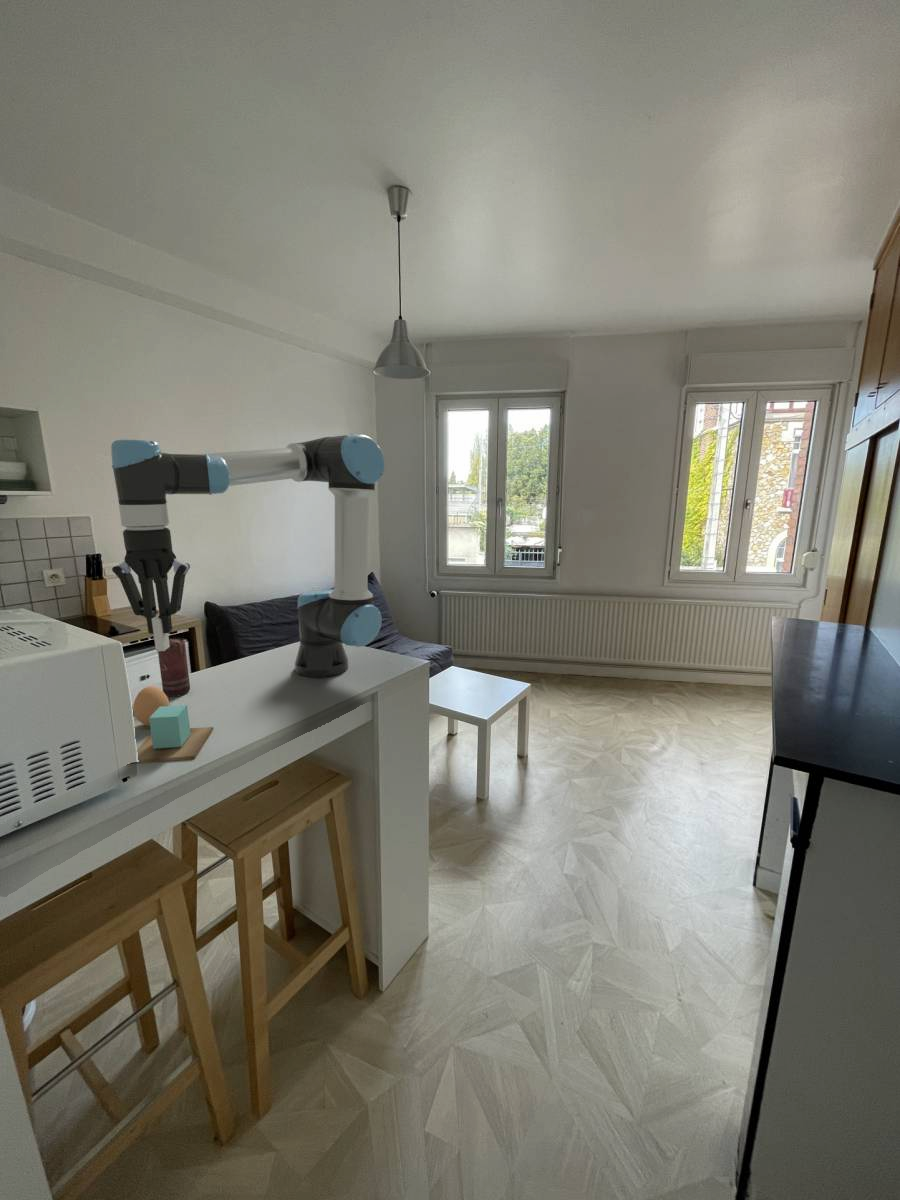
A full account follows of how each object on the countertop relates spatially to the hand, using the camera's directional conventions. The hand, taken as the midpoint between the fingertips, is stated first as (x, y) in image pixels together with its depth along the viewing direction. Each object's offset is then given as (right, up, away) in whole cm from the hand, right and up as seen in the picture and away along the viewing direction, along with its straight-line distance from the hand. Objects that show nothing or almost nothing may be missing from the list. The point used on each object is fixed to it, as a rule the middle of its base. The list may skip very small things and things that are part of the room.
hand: (163, 648), depth 96 cm
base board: (0, -20, +4) cm, 21 cm away
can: (-14, -14, +30) cm, 36 cm away
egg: (-10, -18, +13) cm, 25 cm away
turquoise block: (0, -19, +4) cm, 20 cm away
